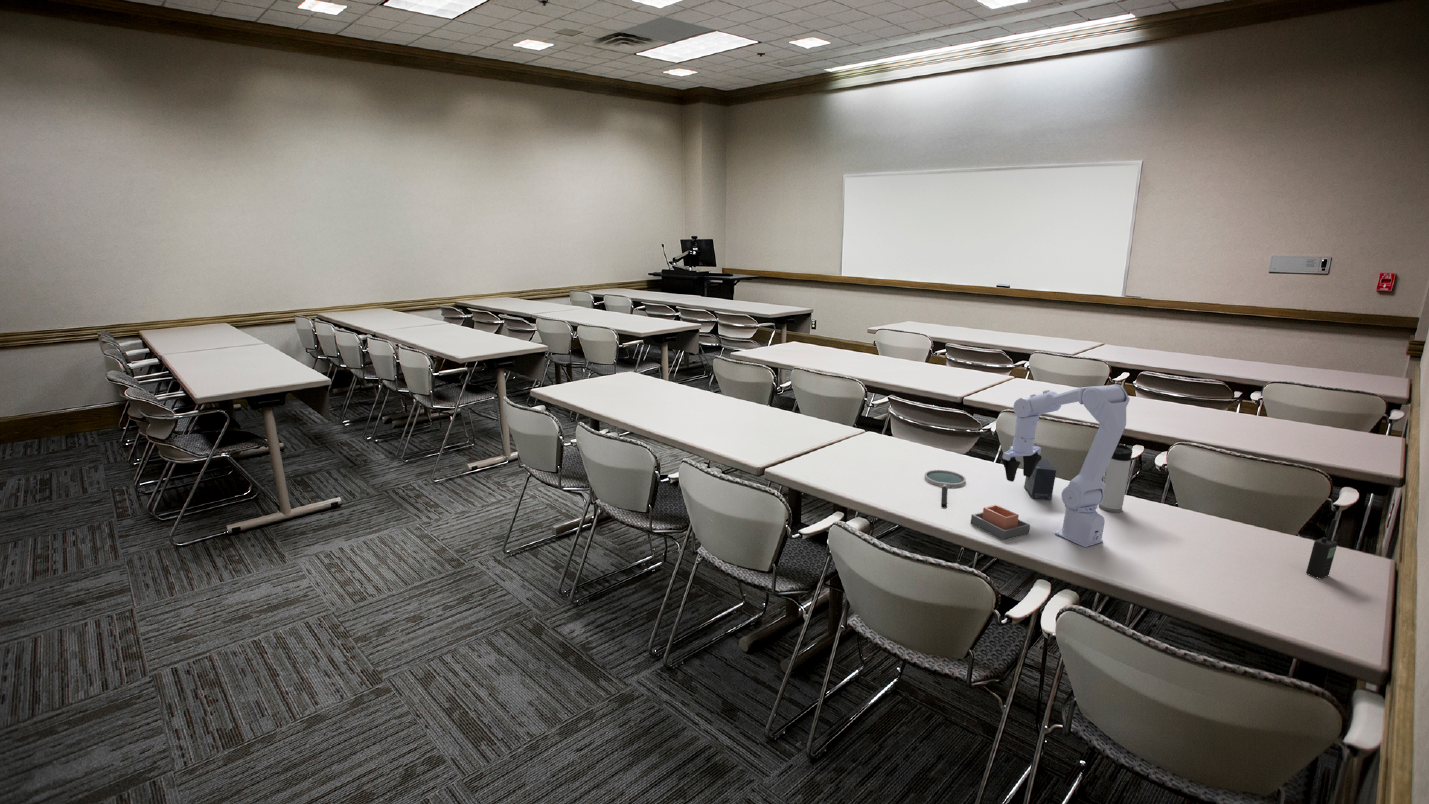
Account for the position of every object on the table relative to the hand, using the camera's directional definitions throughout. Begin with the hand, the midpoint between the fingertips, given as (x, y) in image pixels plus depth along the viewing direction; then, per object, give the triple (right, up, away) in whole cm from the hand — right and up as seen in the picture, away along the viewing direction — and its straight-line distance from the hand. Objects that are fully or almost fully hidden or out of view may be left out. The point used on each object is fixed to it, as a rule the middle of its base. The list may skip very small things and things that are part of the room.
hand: (1018, 478), depth 206 cm
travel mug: (+29, -10, +2) cm, 31 cm away
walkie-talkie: (+59, -20, -36) cm, 72 cm away
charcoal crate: (-11, -13, -12) cm, 21 cm away
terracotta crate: (-11, -13, -12) cm, 21 cm away
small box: (+12, -7, +13) cm, 19 cm away
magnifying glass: (-17, -6, +16) cm, 24 cm away
